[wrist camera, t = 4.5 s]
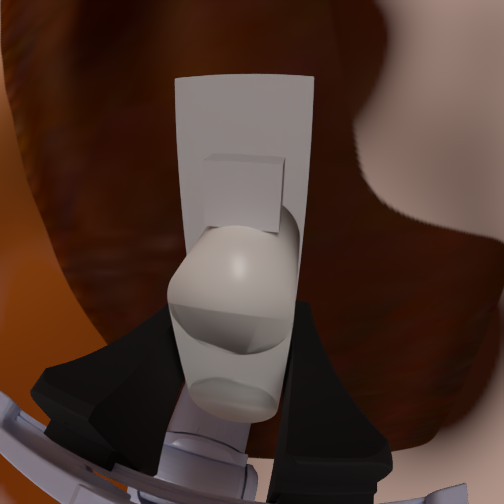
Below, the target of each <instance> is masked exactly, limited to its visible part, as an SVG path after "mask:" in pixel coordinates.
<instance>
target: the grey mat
mask: <svg viewBox="0 0 504 504" xmlns="http://www.w3.org/2000/svg"><path fill="white" fill-rule="evenodd" d="M313 90H314V77H311V76H298V75H277V74H229V75H209V76H195V77H184V78H175V106H176V131H177V150H178V166H179V180H180V192H181V204H182V214H183V224H184V234H185V243H186V252H187V255H188V253H189V252H190V250H191V249H192V247H193V246H194V245H195V243H196V242H197V240H198V239H199V237H200V236H201V235H202V233H203V232H204V230H205V229H206V227H207V226H205V215H204V193H203V165H202V160H204V159H205V158H207V157H208V156H210V155H211V154H213V153H223V154H247V155H264V156H278V157H285V173H284V189H283V204H282V205H283V206H284V207H286V208H287V209H288V210H289V211H290V213H291V214H292V215H293V217H294V218H295V220H296V222H297V225H298V228H299V232H300V247H299V262H298V275H297V285H298V277H299V269H300V260H301V251H302V242H303V232H304V222H305V211H306V200H307V189H308V176H309V163H310V148H311V132H312V113H313ZM296 293H297V288H296ZM295 301H296V299H295Z"/></svg>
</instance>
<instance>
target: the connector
mask: <svg viewBox="0 0 504 504" xmlns="http://www.w3.org/2000/svg"><path fill="white" fill-rule="evenodd" d="M202 165H203V193H204V215H205V226H207V227H206V229H205V230H204V232H203V233H202V235H201V236H200V237H199V239H198V240H197V242H196V243H195V245H194V246H193V247H192V249H191V250H190V252H189V253H188V255H187V256H186V258H185V259H184V261H183V262H182V264H181V265H180V267H179V268H178V270H177V271H176V273H175V274H174V276H173V277H172V279H171V281H170V283H169V287H168V294H167V298H168V305H169V310H170V315H171V320H172V324H173V329H174V334H175V338H176V343H177V347H178V351H179V355H180V359H181V364H182V368H183V372H184V375H185V379H186V383H187V387H188V391H189V394H190V397H191V399H192V400H193V401H194V403H195V404H196V405H197V406H199V407H200V408H201V409H203V410H204V411H206V412H208V413H209V414H211V415H214V416H216V417H219V418H222V419H225V420H228V421H233V422H240V423H256V422H261V421H265V420H268V419H270V418H272V417H273V416H274V415H275V414H276V413H277V410H278V406H279V401H280V395H281V390H282V385H283V380H284V374H285V369H286V363H287V357H288V352H289V346H290V340H291V334H292V327H293V321H294V311H295V299H296V288H297V275H298V262H299V247H300V232H299V228H298V225H297V222H296V220H295V218H294V217H293V215H292V214H291V213H290V211H289V210H288V209H287V208H286V207H284V206H283V205H282V204H283V189H284V173H285V157H278V156H264V155H247V154H223V153H213V154H211V155H210V156H208V157H207V158H205V159H204V160H202Z"/></svg>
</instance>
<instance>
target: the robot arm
mask: <svg viewBox="0 0 504 504" xmlns="http://www.w3.org/2000/svg"><path fill="white" fill-rule="evenodd" d="M184 379H185V375H184V372H183V368H182V364H181V359H180V355H179V351H178V347H177V343H176V338H175V334H174V329H173V324H172V320H171V315H170V310H169V305H168V304H167V305H165V306H164V307H163V308H162V309H160V310H159V311H158V312H157V313H156V314H154V315H153V316H152V317H151V318H149V319H148V320H147V321H145V322H144V323H142V324H141V325H140V326H138V327H137V328H136V329H134V330H133V331H131V332H130V333H128V334H127V335H125V336H123V337H122V338H120V339H118V340H117V341H115V342H113V343H111V344H109V345H107V346H105V347H103V348H101V349H99V350H97V351H95V352H93V353H91V354H88V355H86V356H83V357H81V358H78V359H76V360H73V361H70V362H67V363H63V364H60V365H56V366H53V367H49V368H46V369H45V370H44V372H43V373H42V375H41V376H40V378H39V379H38V380H37V382H36V383H35V385H34V386H33V388H32V389H31V391H30V393H31V397H32V398H33V400H34V401H35V402H36V404H37V405H38V406H39V407H40V408H41V409H42V410H43V411H44V412H45V414H47V416H48V417H49V418H50V419H51V421H50V422H49V424H48V426H47V427H46V426H44V425H43V424H41V423H40V422H38V421H37V420H35V419H33V418H32V417H31V416H29V415H28V414H26V413H25V412H23V411H22V410H21V409H20V407H19V406H18V405H17V404H16V403H15V402H14V401H13V400H12V399H11V398H9V397H8V396H7V395H6V394H4V393H3V392H2V391H0V453H1V454H2V455H3V456H4V457H5V458H6V459H7V460H8V461H9V462H10V463H11V464H12V465H14V466H15V467H16V468H17V469H18V470H19V471H20V472H21V473H23V474H24V475H25V476H26V477H27V478H28V479H30V480H31V481H32V482H33V483H35V484H36V485H37V486H38V487H40V488H41V489H42V490H44V491H45V492H46V493H48V494H49V495H51V496H52V497H53V498H55V499H56V500H57V501H59V502H60V503H62V504H374V494H375V493H376V492H377V482H379V481H380V480H382V479H383V478H385V477H386V476H387V475H388V474H389V473H390V472H391V471H392V469H393V461H392V454H391V449H390V446H389V442H388V440H387V439H386V438H385V437H384V436H383V435H382V434H381V433H380V432H379V431H378V430H377V429H376V427H375V426H374V425H373V424H372V423H371V422H370V421H369V420H368V418H367V417H366V416H365V415H364V414H363V412H362V411H361V410H360V408H359V407H358V406H357V404H356V403H355V402H354V400H353V399H352V397H351V396H350V395H349V393H348V392H347V390H346V389H345V387H344V386H343V384H342V382H341V381H340V379H339V377H338V376H337V374H336V372H335V370H334V368H333V366H332V364H331V363H330V360H329V358H328V356H327V354H326V352H325V350H324V347H323V345H322V343H321V340H320V337H319V335H318V332H317V330H316V327H315V323H314V320H313V317H312V313H311V308H310V304H309V303H308V302H299V301H295V311H294V321H293V327H292V334H291V340H290V346H289V352H288V357H287V363H286V369H285V374H284V380H283V404H282V415H281V422H280V428H279V435H278V441H277V447H276V453H275V458H274V464H273V470H272V475H271V481H270V485H269V490H268V495H267V500H266V503H263V502H255V501H254V500H255V496H256V491H257V485H258V475H257V472H256V471H255V469H254V467H253V466H252V465H250V464H246V463H247V459H248V455H247V454H244V453H245V448H246V444H247V439H248V435H249V430H250V425H251V423H240V422H233V421H228V420H225V419H222V418H219V417H216V416H214V415H211V414H209V413H208V412H206V411H204V410H203V409H201V408H200V407H199V406H197V405H196V404H195V403H194V401H193V400H192V399H191V397H190V394H189V391H188V387H187V383H185V385H184V388H183V390H182V393H181V395H180V398H179V400H178V403H177V405H176V408H175V410H174V413H173V416H172V418H171V414H172V411H173V408H174V404H175V401H176V398H177V395H178V392H179V390H180V387H181V385H182V383H183V381H184ZM170 418H171V421H170ZM169 421H170V423H169ZM168 425H169V426H168ZM92 470H93V471H96V472H97V473H99V474H101V475H104V476H106V477H108V478H110V479H113V480H115V481H117V482H119V483H121V484H124V485H126V486H128V490H127V493H126V492H125V491H123V490H121V489H119V488H118V487H116V486H114V485H113V484H112V483H111V482H109V481H107V480H105V479H104V478H102V477H100V476H98V475H96V474H94V473H93V471H92ZM381 504H468V494H467V484H466V483H463V484H459V485H455V486H451V487H447V488H444V489H440V490H437V491H435V492H432V493H430V494H429V495H427V496H426V497H421V498H415V499H411V500H404V501H397V502H389V503H381Z"/></svg>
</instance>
